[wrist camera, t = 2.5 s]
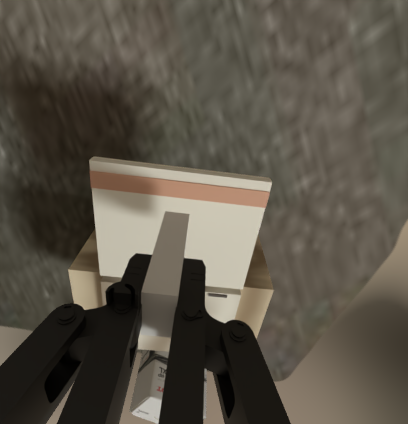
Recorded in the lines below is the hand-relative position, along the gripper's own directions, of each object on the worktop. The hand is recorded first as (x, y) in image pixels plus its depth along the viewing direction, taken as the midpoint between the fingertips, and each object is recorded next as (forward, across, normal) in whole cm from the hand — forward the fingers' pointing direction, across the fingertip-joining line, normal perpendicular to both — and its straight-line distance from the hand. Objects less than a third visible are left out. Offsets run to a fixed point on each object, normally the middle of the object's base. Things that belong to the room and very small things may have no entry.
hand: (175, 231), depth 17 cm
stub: (+3, 0, -2) cm, 4 cm away
